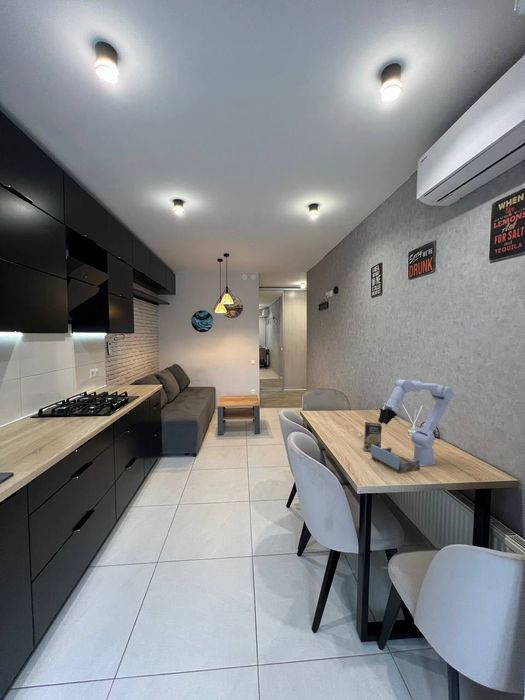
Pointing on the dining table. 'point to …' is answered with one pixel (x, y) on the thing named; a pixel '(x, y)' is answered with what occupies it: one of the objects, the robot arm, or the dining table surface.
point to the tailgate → (385, 456)
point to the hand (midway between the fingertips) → (382, 423)
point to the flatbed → (402, 464)
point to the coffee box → (372, 435)
